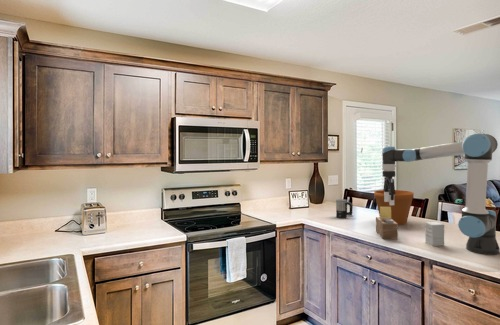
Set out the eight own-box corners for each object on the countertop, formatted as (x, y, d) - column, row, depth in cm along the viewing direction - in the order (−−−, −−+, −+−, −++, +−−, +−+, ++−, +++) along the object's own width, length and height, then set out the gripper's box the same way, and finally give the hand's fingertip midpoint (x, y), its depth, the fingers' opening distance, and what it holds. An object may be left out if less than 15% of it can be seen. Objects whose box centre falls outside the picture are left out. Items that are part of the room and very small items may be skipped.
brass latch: (391, 219, 214) (391, 207, 214) (380, 219, 215) (380, 206, 215) (390, 219, 215) (390, 206, 215) (380, 219, 216) (379, 206, 216)
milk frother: (335, 218, 268) (335, 200, 268) (335, 214, 284) (335, 197, 283) (353, 218, 265) (353, 201, 264) (352, 215, 280) (352, 198, 279)
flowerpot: (421, 223, 244) (421, 192, 243) (396, 228, 231) (396, 195, 230) (390, 216, 269) (390, 189, 268) (366, 220, 256) (366, 191, 255)
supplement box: (436, 242, 196) (436, 221, 195) (444, 245, 188) (444, 224, 188) (425, 242, 195) (424, 222, 195) (432, 246, 188) (432, 224, 187)
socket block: (397, 239, 204) (397, 223, 203) (382, 238, 205) (382, 223, 205) (389, 231, 222) (389, 217, 222) (376, 231, 224) (375, 217, 223)
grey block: (393, 237, 204) (393, 220, 204) (386, 237, 205) (386, 220, 205) (390, 235, 211) (390, 218, 211) (383, 234, 212) (383, 218, 212)
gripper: (400, 171, 192) (400, 206, 193) (390, 169, 217) (390, 200, 217) (387, 171, 193) (387, 206, 194) (378, 169, 218) (378, 200, 219)
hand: (389, 203), depth 206 cm, fingers open, 13 cm apart
